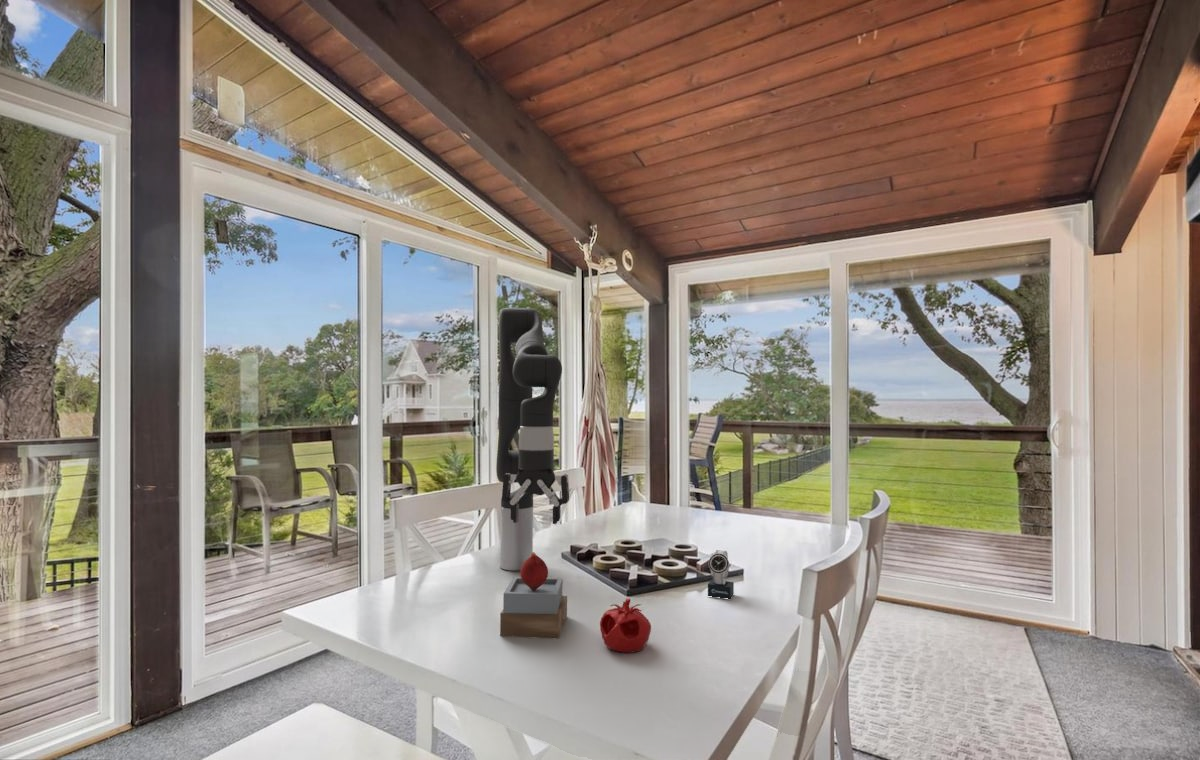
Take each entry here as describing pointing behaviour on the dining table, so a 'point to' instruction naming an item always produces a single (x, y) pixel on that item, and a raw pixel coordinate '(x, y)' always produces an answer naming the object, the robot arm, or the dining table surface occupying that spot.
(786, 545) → the dining table surface
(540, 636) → the bottom block
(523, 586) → the top block
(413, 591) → the dining table surface
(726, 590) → the watch
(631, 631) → the pomegranate
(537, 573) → the onion
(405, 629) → the dining table surface
